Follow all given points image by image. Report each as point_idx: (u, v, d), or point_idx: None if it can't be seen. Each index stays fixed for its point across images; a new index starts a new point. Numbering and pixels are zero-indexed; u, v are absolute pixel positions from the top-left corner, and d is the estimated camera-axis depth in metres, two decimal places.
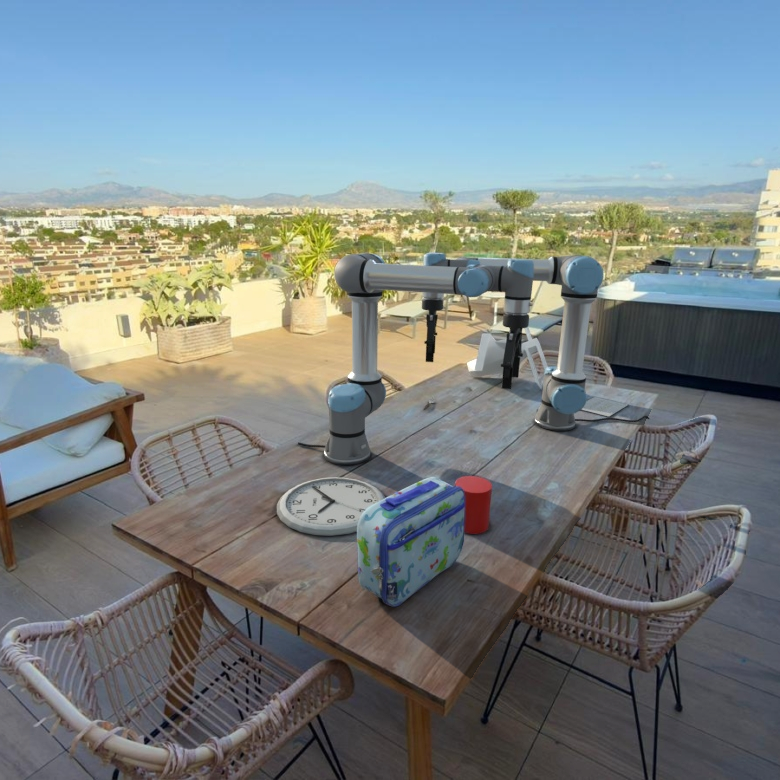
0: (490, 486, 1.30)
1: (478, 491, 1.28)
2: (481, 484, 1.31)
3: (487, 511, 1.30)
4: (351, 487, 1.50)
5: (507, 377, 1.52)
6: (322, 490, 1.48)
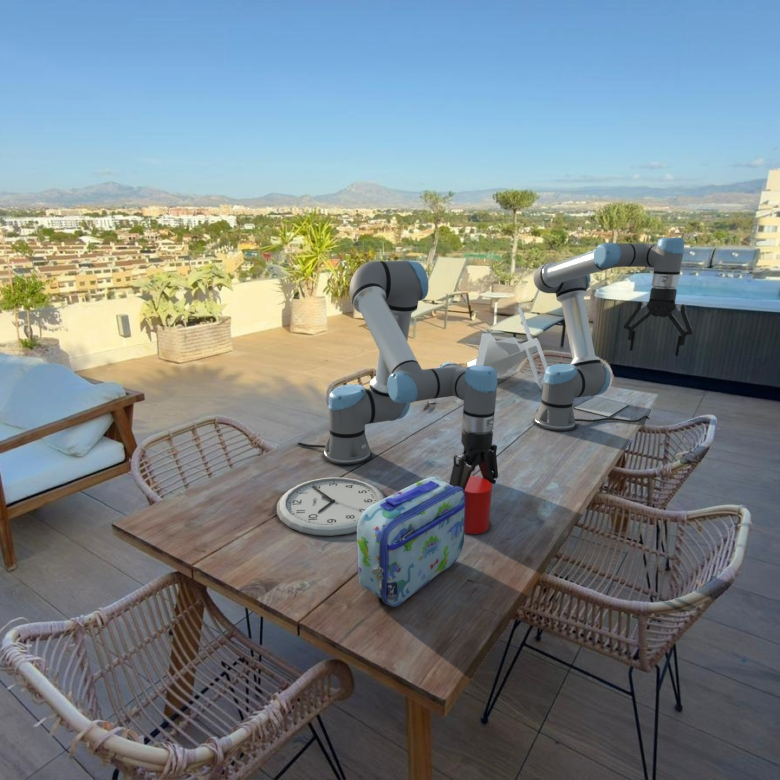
0: (490, 486, 1.30)
1: (478, 491, 1.28)
2: (481, 484, 1.31)
3: (487, 511, 1.30)
4: (351, 487, 1.50)
5: None
6: (322, 490, 1.48)
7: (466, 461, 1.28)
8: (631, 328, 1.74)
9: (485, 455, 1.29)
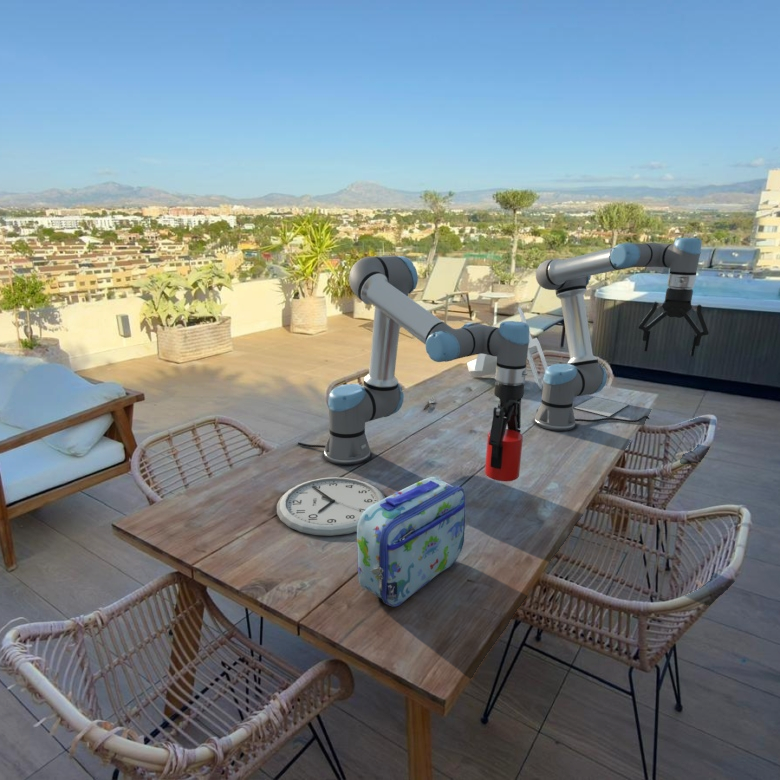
0: (520, 435, 1.40)
1: (514, 440, 1.36)
2: (512, 434, 1.40)
3: (520, 458, 1.40)
4: (351, 487, 1.50)
5: (495, 456, 1.36)
6: (322, 490, 1.48)
7: None
8: (646, 329, 1.73)
9: (516, 406, 1.38)
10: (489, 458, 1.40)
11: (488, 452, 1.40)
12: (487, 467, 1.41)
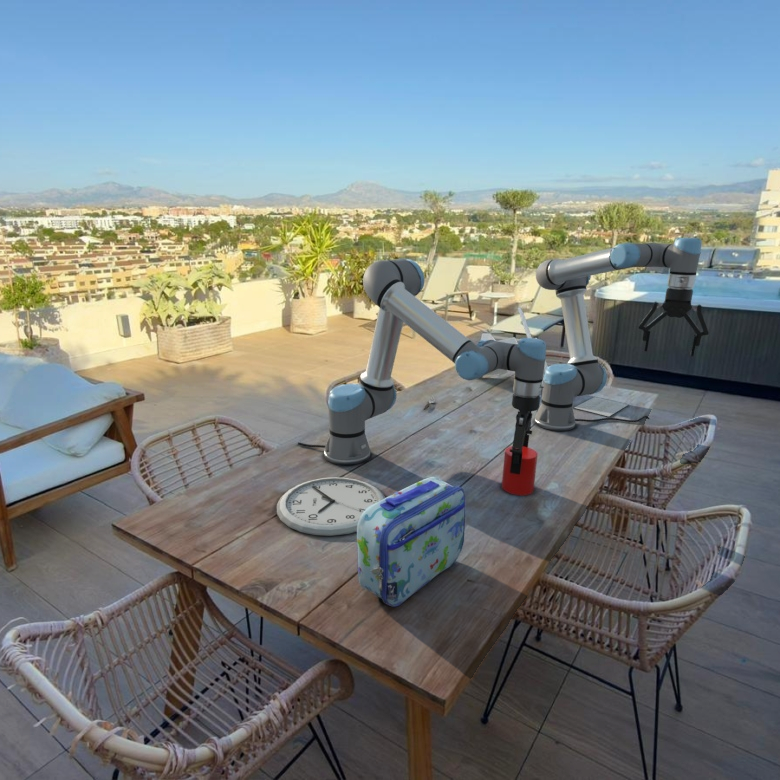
0: (534, 451, 1.52)
1: (532, 456, 1.48)
2: (526, 451, 1.52)
3: (535, 472, 1.52)
4: (351, 487, 1.50)
5: (516, 463, 1.44)
6: (322, 490, 1.48)
7: None
8: (646, 329, 1.73)
9: (531, 416, 1.48)
10: (508, 475, 1.50)
11: (507, 469, 1.50)
12: (506, 483, 1.51)
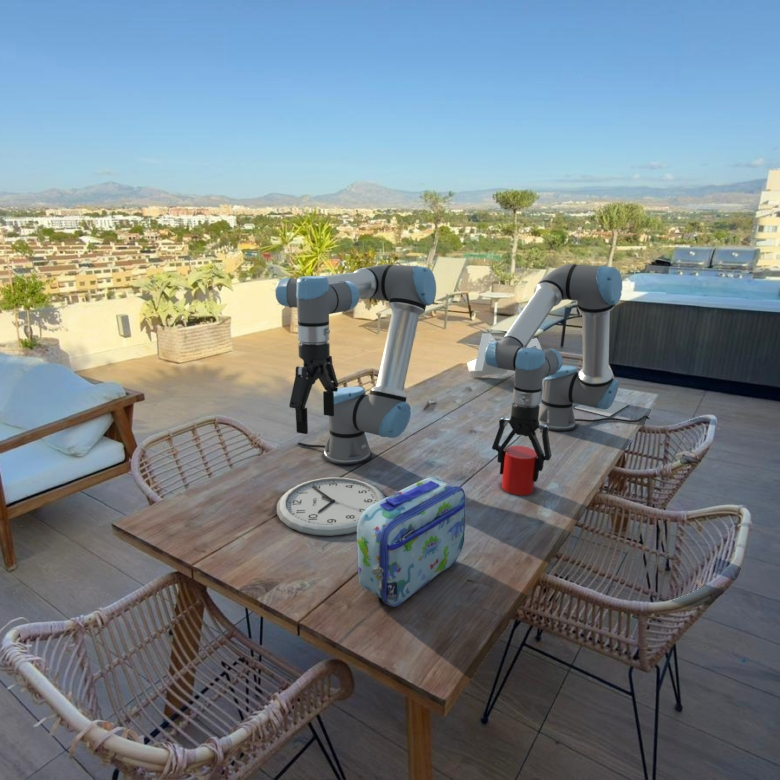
0: (534, 451, 1.52)
1: (532, 456, 1.48)
2: (526, 451, 1.52)
3: None
4: (351, 487, 1.50)
5: (299, 420, 1.24)
6: (322, 490, 1.48)
7: None
8: (500, 450, 1.52)
9: (324, 367, 1.29)
10: (508, 475, 1.50)
11: (507, 469, 1.50)
12: (506, 483, 1.51)
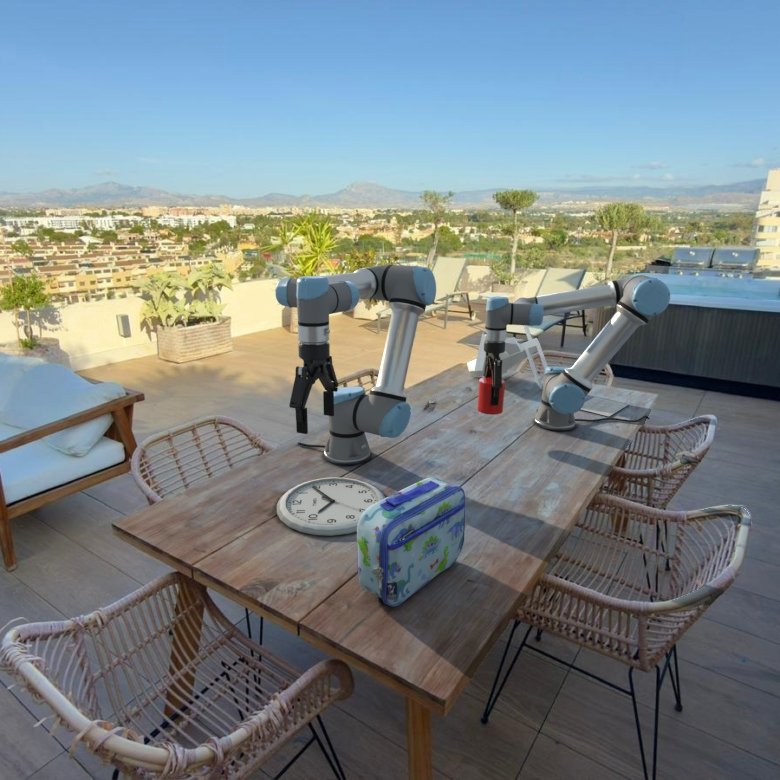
0: None
1: (489, 383, 1.87)
2: None
3: None
4: (351, 487, 1.50)
5: (299, 420, 1.24)
6: (322, 490, 1.48)
7: None
8: (484, 377, 1.96)
9: (324, 367, 1.29)
10: None
11: None
12: None
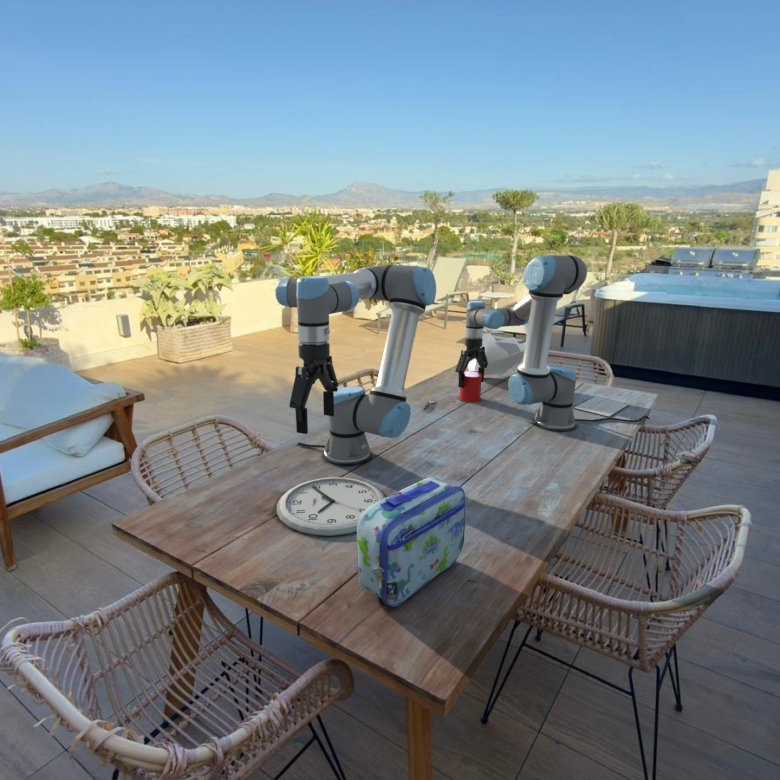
0: (471, 376, 2.27)
1: None
2: (472, 375, 2.29)
3: (465, 389, 2.29)
4: (351, 487, 1.50)
5: (299, 420, 1.24)
6: (322, 490, 1.48)
7: None
8: None
9: (324, 367, 1.29)
10: None
11: None
12: None
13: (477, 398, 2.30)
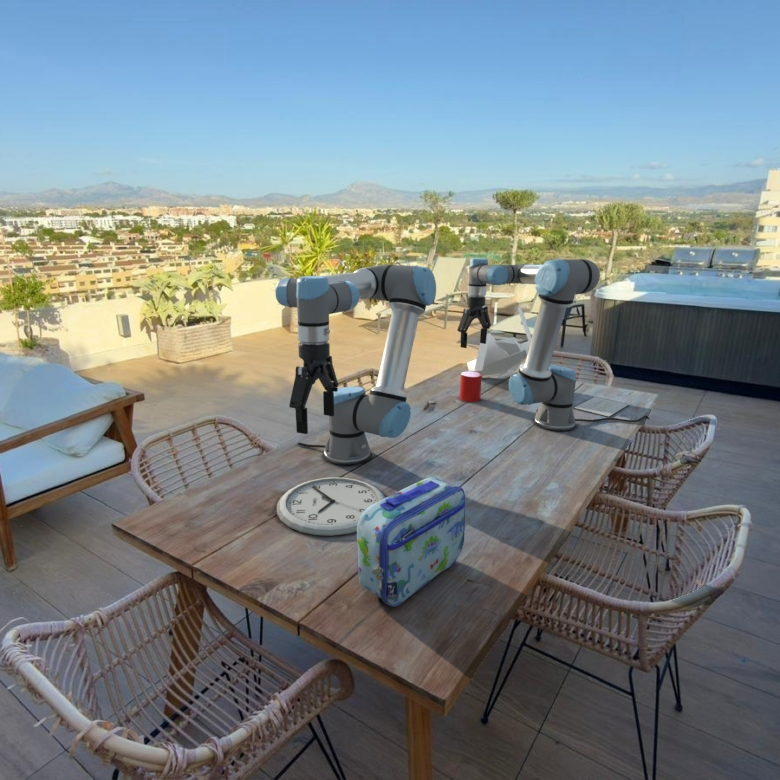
0: (471, 376, 2.27)
1: (463, 374, 2.29)
2: (472, 375, 2.29)
3: (465, 389, 2.29)
4: (351, 487, 1.50)
5: (299, 420, 1.24)
6: (322, 490, 1.48)
7: None
8: None
9: (324, 367, 1.29)
10: None
11: None
12: None
13: (477, 398, 2.30)
